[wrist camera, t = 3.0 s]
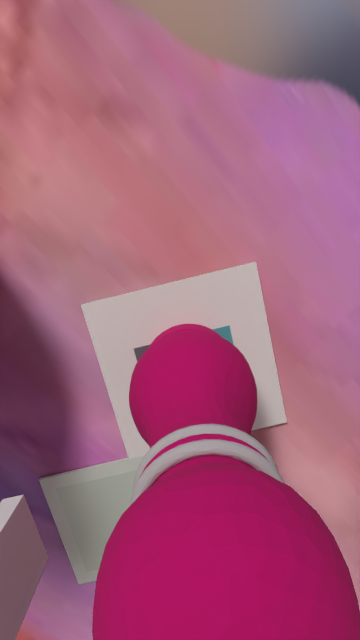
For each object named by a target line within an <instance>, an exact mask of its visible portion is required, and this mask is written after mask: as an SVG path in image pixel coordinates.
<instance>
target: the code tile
mask: <svg viewBox="0 0 360 640" xmlns="http://www.w3.org/2000/svg"><path fill="white" fill-rule="evenodd" d="M81 307H82V310H83V313H84V316H85V320H86V323H87V326H88V329H89V332H90V336H91V339H92V342H93V345H94V348H95V352H96V355H97V358H98V361H99V365H100V368H101V371H102V374H103V377H104V381H105V384H106V387H107V390H108V393H109V397H110V400H111V403H112V406H113V410H114V413H115V416H116V419H117V422H118V426H119V429H120V432H121V435H122V438H123V442H124V445H125V448H126V451H127V455H128V458H129V459H132V458H136V457H140V456H145V455H146V453H147V452H148V451H149V450H150V447H149V445H148V444H147V443H146V442H145V441H144V440H143V438H142V437H141V435H140V434H139V432H138V430H137V428H136V425H135V423H134V421H133V418H132V415H131V411H130V406H129V389H130V381H131V377H132V373H133V370H134V368H135V365H136V364H137V362H138V360H139V359H140V357H141V356H142V355H143V353H144V352H145V351H146V350H147V349H148V348H149V346H150V345H151V343H152V342H153V341H154V339H155V338H156V337H157V336H158V335H160V334H161V333H162V332H163V331H165V330H167V329H169V328H171V327H173V326H176V325H180V324H198V325H202V326H206V327H208V328H210V329H212V330H214V331H215V332H217V333H218V334H219V335H220V336H221V337H222V338H224V339H226V340H228V341H229V342H230V343H232V344H233V345H234V346H235V347H237V348H238V350H239V351H240V352H241V353H242V354H243V355H244V357H245V359H246V360H247V362H248V363H249V366H250V368H251V371H252V373H253V376H254V379H255V383H256V387H257V413H256V418H255V421H254V424H253V427H252V430H256V429H261V428H265V427H269V426H273V425H278V424H282V423H286V422H287V421H286V416H285V410H284V405H283V400H282V395H281V390H280V384H279V379H278V374H277V369H276V363H275V358H274V353H273V348H272V343H271V337H270V332H269V327H268V322H267V316H266V311H265V306H264V301H263V296H262V290H261V285H260V280H259V275H258V269H257V264H256V262H251V263H247V264H243V265H239V266H235V267H231V268H227V269H223V270H218V271H214V272H210V273H206V274H202V275H198V276H194V277H190V278H186V279H182V280H178V281H174V282H170V283H166V284H162V285H158V286H153V287H149V288H145V289H141V290H137V291H133V292H129V293H125V294H121V295H117V296H113V297H109V298H105V299H101V300H97V301H93V302H88V303H84V304H81ZM252 430H251V431H252Z"/></svg>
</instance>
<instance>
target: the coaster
mask: <svg viewBox="0 0 360 640" xmlns="http://www.w3.org/2000/svg"><path fill="white" fill-rule="evenodd" d="M143 457H144V456H140V457H136V458H132V459H129V458H124V459H119V460H115V461H111V462H106V463H102V464H98V465H94V466H89V467H85V468H81V469H76V470H72V471H68V472H64V473H59V474H55V475H51V476H46V477H42V478H40V479H39V482H40V485H41V488H42V490H43V493H44V495H45V498H46V501H47V503H48V506H49V508H50V511H51V514H52V516H53V519H54V522H55V524H56V527H57V529H58V532H59V535H60V537H61V540H62V542H63V545H64V548H65V550H66V553H67V556H68V558H69V561H70V563H71V566H72V569H73V571H74V574H75V576H76V579H77V582H78V584H83V583H88V582H92V581H96V580H97V574H98V571H99V567H100V563H101V560H102V556H103V553H104V549H105V546H106V543H107V541H108V539H109V537H110V535H111V533H112V531H113V530H114V528H115V526H116V524H117V522H118V520H119V519H120V517H121V515H122V514H123V513H124V512H125V511H126V510H127V509H128V508H129V506H130V502H131V497H132V493H133V483H134V478H135V474H136V471H137V469H138V466H139V464H140V462H141V461H142V459H143Z"/></svg>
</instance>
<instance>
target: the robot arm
mask: <svg viewBox="0 0 360 640" xmlns="http://www.w3.org/2000/svg"><path fill="white" fill-rule="evenodd" d="M48 558H49V557H48V554H47V552H46V549H45V547H44V544H43V542H42V539H41V537H40V534H39V532H38V529H37V527H36V524H35V522H34V519H33V517H32V514H31V511H30V509H29V506H28V504H27V501H26V499H25V496H24V495H19V496H15V497H10V498H6V499H3V500H2V501H1V503H0V640H15V639H16V636H17V634H18V632H19V629H20V627H21V624H22V622H23V619H24V617H25V614H26V612H27V610H28V607H29V605H30V602H31V600H32V597H33V595H34V593H35V590H36V588H37V585H38V583H39V580H40V578H41V575H42V573H43V571H44V568H45V566H46V563H47V561H48Z"/></svg>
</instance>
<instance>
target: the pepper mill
mask: <svg viewBox="0 0 360 640" xmlns="http://www.w3.org/2000/svg"><path fill="white" fill-rule="evenodd" d="M129 406H130V411H131V415H132V418H133V421H134V423H135V425H136V428H137V430H138V432H139V434H140V435H141V437H142V438H143V440H144V441H145V442H146V443H147V444H148V445H149V447H150V450H149V451H148V452H147V453H146V455H145V456H144V457H143V459H142V461H141V462H140V464H139V466H138V469H137V471H136V474H135V478H134V483H133V493H132V497H131V502H130V506H129V508H128V509H127V510H126V511H125V512H124V513H123V514H122V515H121V517H120V519H119V520H118V522H117V524H116V526H115V528H114V530H113V531H112V533H111V535H110V537H109V539H108V541H107V543H106V546H105V549H104V553H103V556H102V560H101V563H100V567H99V571H98V574H97V580H96V589H95V598H94V607H93V629H92V633H93V640H360V611H359V605H358V600H357V596H356V593H355V589H354V586H353V582H352V579H351V576H350V572H349V569H348V566H347V564H346V562H345V560H344V558H343V556H342V553H341V551H340V549H339V547H338V545H337V543H336V540H335V538H334V536H333V535H332V533H331V532H330V530H329V529H328V527H327V526H326V525H325V523H324V522H323V520H322V519H321V517H320V516H319V514H318V513H317V511H316V510H314V509H313V508H312V507H311V506H310V505H309V504H308V503H307V502H306V501H305V500H304V499H303V498H302V497H301V496H300V495H299V494H298V493H297V492H296V491H294V490H293V489H292V488H291V487H290V486H288V485H286V484H285V483H284V481H283V479H282V478H281V476H280V474H279V472H278V470H277V467H276V464H275V462H274V460H273V459H272V457H271V455H270V454H269V452H268V451H267V450H266V448H265V447H264V446H263V445H262V444H261V443H259V442H258V441H257V440H256V439H255V438H253V437H252V436H250V433H251V430H252V427H253V424H254V421H255V418H256V413H257V387H256V383H255V379H254V376H253V373H252V371H251V368H250V366H249V363H248V362H247V360H246V359H245V357H244V355H243V354H242V353H241V352H240V351H239V350H238V348H237V347H235V346H234V345H233V344H232V343H230V342H229V341H228V340H226V339H224V338H222V337H221V336H220V335H219V334H218V333H217V332H215V331H214V330H212V329H210V328H208V327H206V326H202V325H198V324H180V325H176V326H173V327H171V328H169V329H167V330H165V331H163V332H162V333H161V334H160V335H158V336H157V337H156V338H155V339H154V341H153V342H152V343H151V345H150V346H149V348H148V349H147V350H146V351H145V352H144V353H143V355H142V356H141V357H140V359H139V360H138V362H137V364H136V365H135V368H134V370H133V373H132V377H131V381H130V389H129Z"/></svg>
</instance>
